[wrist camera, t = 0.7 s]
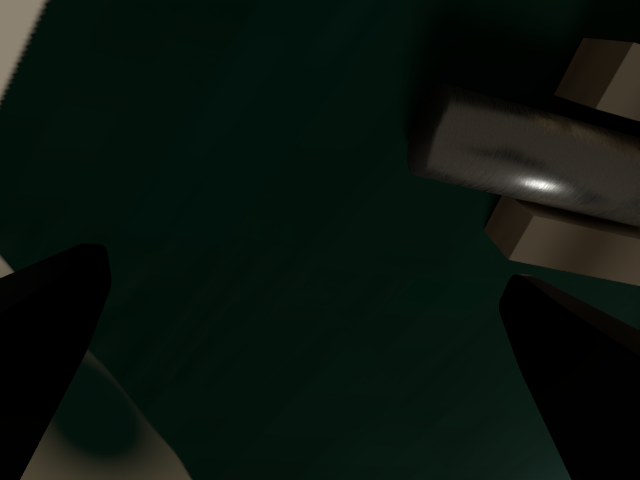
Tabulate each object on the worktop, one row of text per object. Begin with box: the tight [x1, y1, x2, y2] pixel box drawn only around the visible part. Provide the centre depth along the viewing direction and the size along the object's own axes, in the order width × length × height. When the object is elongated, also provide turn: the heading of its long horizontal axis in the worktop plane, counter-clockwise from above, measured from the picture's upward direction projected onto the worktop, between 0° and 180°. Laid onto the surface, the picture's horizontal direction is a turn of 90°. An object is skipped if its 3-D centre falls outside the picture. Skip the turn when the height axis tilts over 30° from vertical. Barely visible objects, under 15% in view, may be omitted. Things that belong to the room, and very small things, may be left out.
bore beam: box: [484, 38, 640, 286], centre depth 19 cm, size 8×10×3 cm
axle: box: [407, 83, 640, 227], centre depth 19 cm, size 14×4×4 cm, turn 76°
